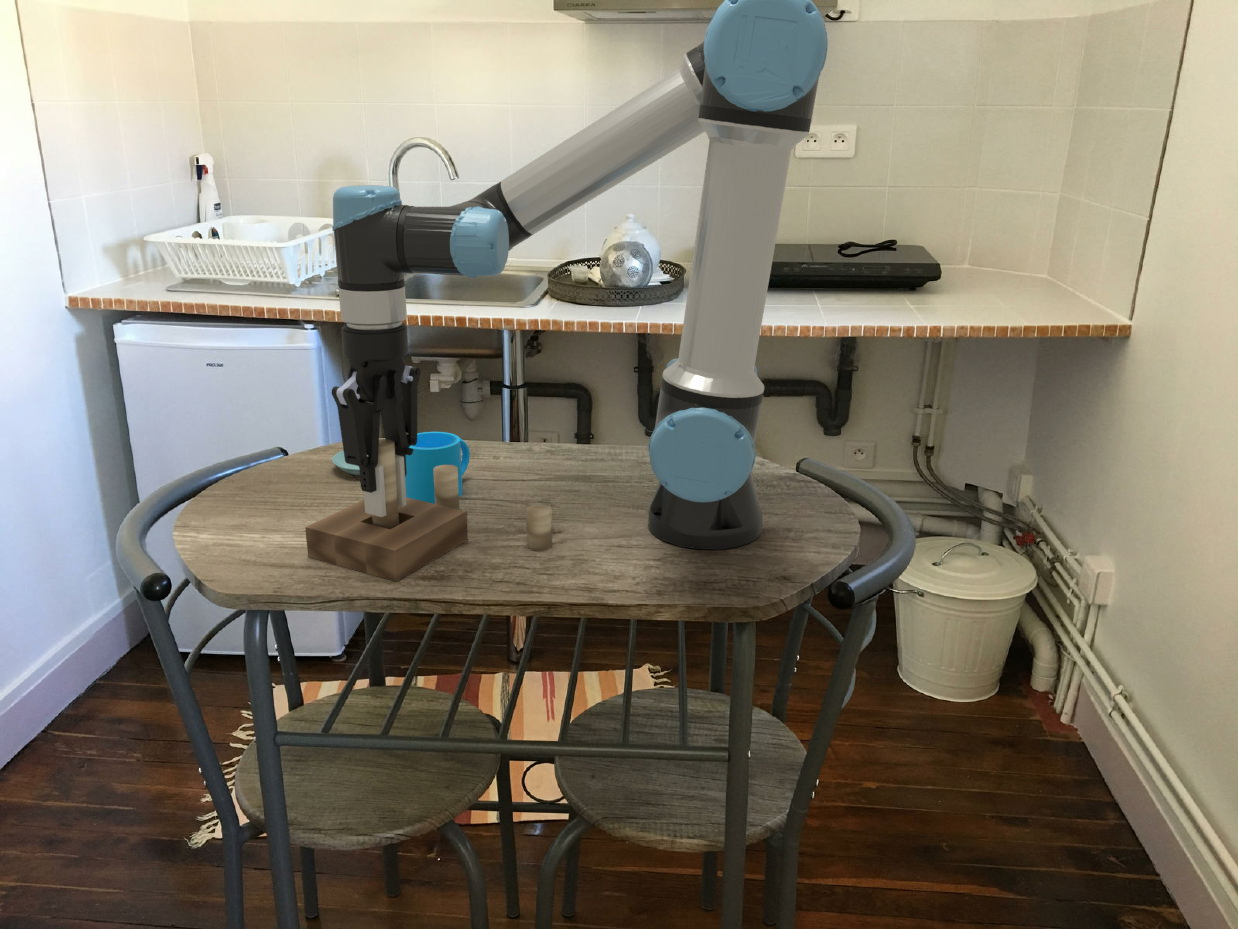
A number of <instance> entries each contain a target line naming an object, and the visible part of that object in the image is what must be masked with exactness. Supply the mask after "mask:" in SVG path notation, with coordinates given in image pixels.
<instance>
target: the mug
mask: <svg viewBox="0 0 1238 929" xmlns="http://www.w3.org/2000/svg"><path fill="white" fill-rule="evenodd" d="M409 448H412V449H413V453H412V454H411V455H410V456H409V455H406V470H407V473H406V477H405V486H406V497H407V498H411V499H416V500H420V501H424V502H429V503H433V504H435V490H434V471H433V469H434V468H435V467H436V466H439V465H454V466H456V467H457V468H458V488H459V498H461V497H462V495H463V476H464V474H465V472H466V470H467V469H468V466H469V463H470V458H471V453H470V448H469V446H468V445H467V442H466V441H465V440H464V439H462V438H461V437H460V436H458V435H457V434H455V433H450V432H446V431H445V432H444V431H423V432H417V443H416V445H414V446H413V445H411V446H410V447H409Z"/></svg>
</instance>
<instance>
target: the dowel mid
mask: <svg viewBox="0 0 1238 929" xmlns="http://www.w3.org/2000/svg"><path fill="white" fill-rule="evenodd" d="M433 471H434V490H435V504H438V505H442V506H446V507H451V508H455V509H459V510H460V497H459V488H458V468H457V467H456V466H454V465H439V466H436V467H435V468H434V469H433Z"/></svg>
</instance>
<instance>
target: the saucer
mask: <svg viewBox="0 0 1238 929" xmlns="http://www.w3.org/2000/svg"><path fill="white" fill-rule="evenodd" d="M367 456H368V455H367ZM331 462H332V463H333V465H335V466H336V467H338V468H339V470H342V471H343V472H345V473H347V474H350V475H353V476H356V477H360V469H359V466H356V465H352V464H348V463H346V462H345V457H344V450H343V449H342V450H341V451H338V452H337V453H335V454H334V455H333V456H332V457H331Z"/></svg>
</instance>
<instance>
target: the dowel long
mask: <svg viewBox="0 0 1238 929" xmlns="http://www.w3.org/2000/svg"><path fill="white" fill-rule="evenodd" d="M378 464H380V465H383V471H384V486H385V502H386V516H384V517H380V516H376V515H372V518H373V525H375V526H379V527H383V528H387V529H392V528H394V527H396V526H397V525H399V513H398V496H397V478H396V461H395V444H394V441H392V440H388V439H385V438H384V439H382V438H381V439H380V438H379V450H378Z"/></svg>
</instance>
